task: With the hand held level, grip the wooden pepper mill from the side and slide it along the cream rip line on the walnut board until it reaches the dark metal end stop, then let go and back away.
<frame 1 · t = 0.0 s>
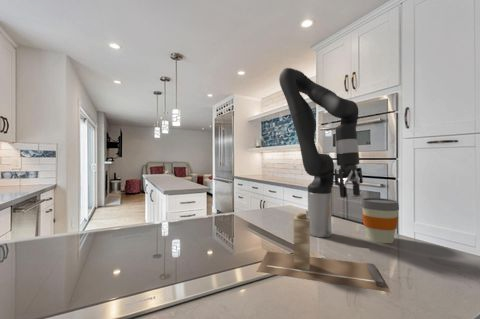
hand: (350, 196, 84), 17 cm above the countertop, tool pointing down, fingers open, 8 cm apart
reusable coffee cup: (379, 239, 89), on the countertop
walnut board: (317, 273, 62), on the countertop
wooden pepper mill: (301, 265, 63), point 1 cm above the countertop, touching walnut board
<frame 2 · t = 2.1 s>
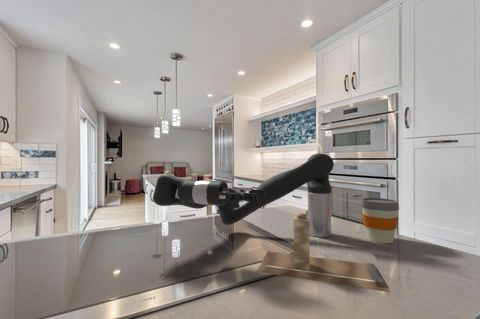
hand: (261, 195, 67), 20 cm above the countertop, tool horizontal, fingers open, 8 cm apart
nothing on the countertop moved.
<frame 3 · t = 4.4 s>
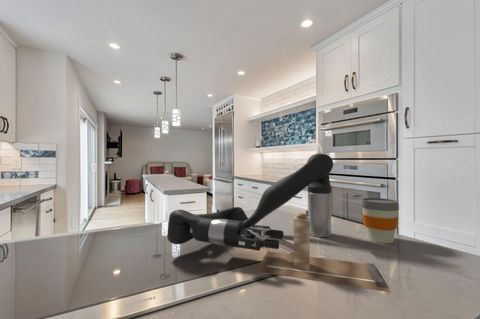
hand: (281, 239, 64), 8 cm above the countertop, tool horizontal, fingers open, 8 cm apart
nothing on the countertop moved.
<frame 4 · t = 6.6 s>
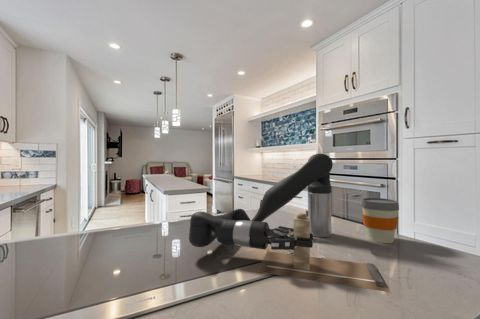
hand: (312, 240, 62), 9 cm above the countertop, tool horizontal, fingers closed on wooden pepper mill, 4 cm apart
wooden pepper mill: (301, 265, 63), point 2 cm above the countertop, touching gripper, walnut board
everything else where it was.
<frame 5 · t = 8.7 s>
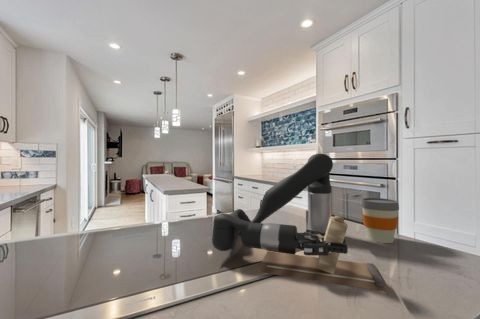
hand: (345, 245, 59), 8 cm above the countertop, tool horizontal, fingers closed on wooden pepper mill, 4 cm apart
wooden pepper mill: (324, 267, 60), point 2 cm above the countertop, tilted 15°, touching gripper
everything else where it was.
when the fingers open (9 cm above the countertop, at t = 11.0 s): wooden pepper mill stays where it is, resting on walnut board.
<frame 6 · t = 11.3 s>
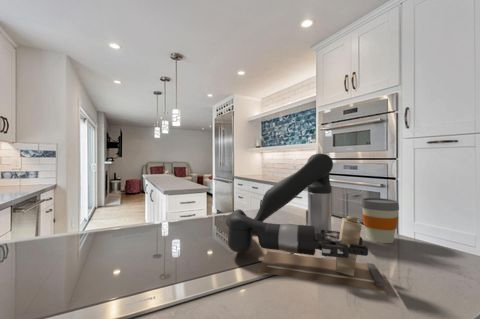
hand: (364, 245, 58), 9 cm above the countertop, tool horizontal, fingers open, 6 cm apart
wooden pepper mill: (343, 270, 60), point 2 cm above the countertop, tilted 8°, touching walnut board
everything else where it was.
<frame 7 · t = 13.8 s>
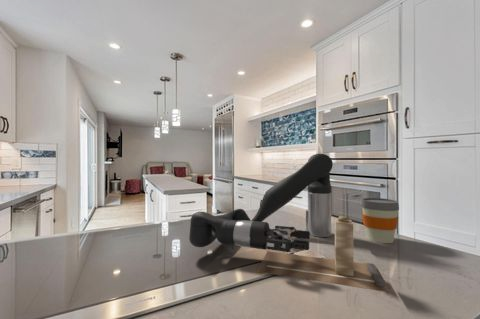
hand: (309, 240, 62), 9 cm above the countertop, tool horizontal, fingers open, 8 cm apart
wooden pepper mill: (343, 271, 60), point 1 cm above the countertop, touching walnut board
everything else where it was.
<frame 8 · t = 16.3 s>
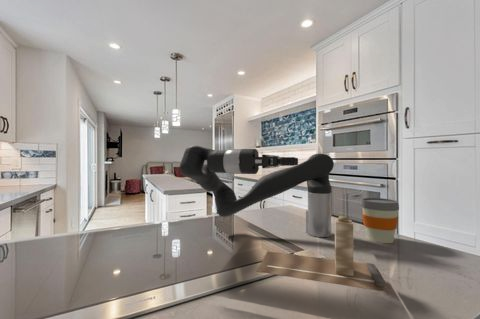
hand: (296, 161, 64), 30 cm above the countertop, tool horizontal, fingers open, 8 cm apart
nothing on the countertop moved.
at the end: wooden pepper mill 2.5 cm from the target spot on the walnut board, point 1.5 cm above the walnut board's base; wooden pepper mill tilted 0°; the gripper is holding nothing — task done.
